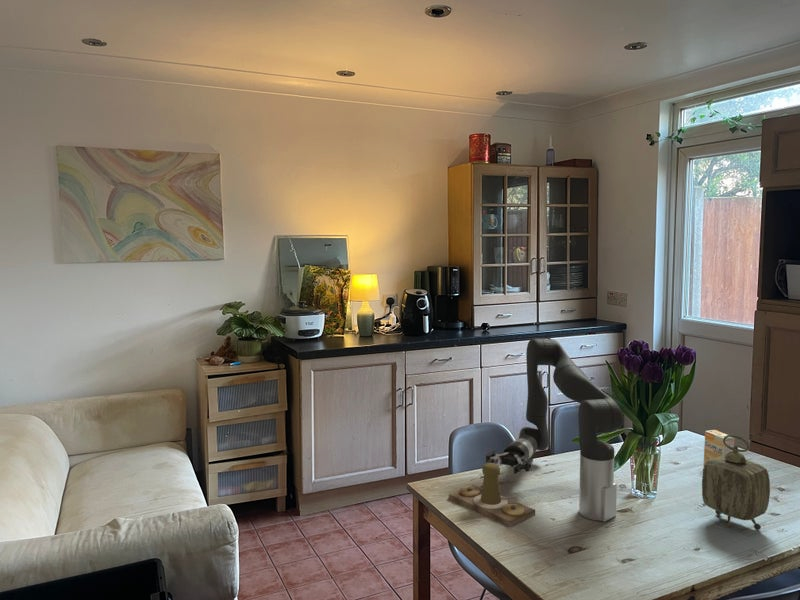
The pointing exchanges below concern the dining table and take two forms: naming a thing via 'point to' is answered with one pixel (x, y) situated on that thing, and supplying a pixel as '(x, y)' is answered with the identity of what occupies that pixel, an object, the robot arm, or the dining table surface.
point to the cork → (490, 484)
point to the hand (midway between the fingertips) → (501, 468)
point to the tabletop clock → (736, 485)
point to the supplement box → (716, 444)
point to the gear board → (492, 506)
